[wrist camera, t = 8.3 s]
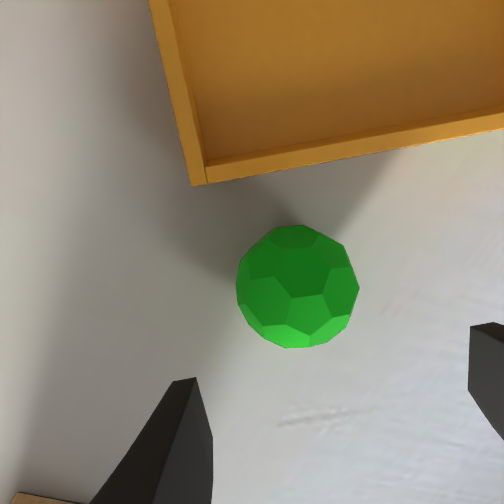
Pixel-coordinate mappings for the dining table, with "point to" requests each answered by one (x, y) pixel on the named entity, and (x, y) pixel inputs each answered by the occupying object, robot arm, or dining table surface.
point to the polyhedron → (296, 287)
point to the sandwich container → (34, 500)
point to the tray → (325, 78)
